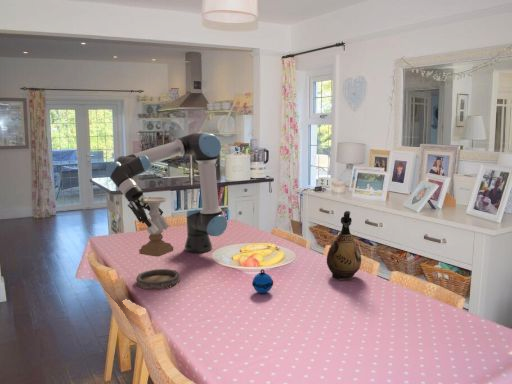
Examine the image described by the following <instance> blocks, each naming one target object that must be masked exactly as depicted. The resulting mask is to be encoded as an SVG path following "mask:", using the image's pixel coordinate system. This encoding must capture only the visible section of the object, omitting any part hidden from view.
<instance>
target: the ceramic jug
mask: <svg viewBox="0 0 512 384" xmlns="http://www.w3.org/2000/svg"><path fill="white" fill-rule="evenodd" d="M350 216H351V211H350V210H345V211H344V213H343V216H341V218H340V223H341V224H342V225H341V226H342V227H341V230H340V232H339V233H340V234H338V235H337V236H336V238H334V240H333V242H332V244H331V245H330V246H329V248H328V251H327V253H326V254H327V255H326V265H327V268H328V269H329V272H331V276H332V279H336V280H339V281H349V280H352V279H353V277H354V276H355V274H357V272H358V271H359V270H360V268H361V265H362V256H361V255H362V254H361V251H360V248H359V245H358V243H357V242H356V239H354V237H353V235H352V234H351V232H350V226H351V225H352V220H353V219H352V218H351V217H350Z"/></svg>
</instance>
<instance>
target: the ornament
mask: <svg viewBox="0 0 512 384" xmlns="http://www.w3.org/2000/svg"><path fill="white" fill-rule="evenodd" d="M265 271H266V270H265V269H261V270H260V272H259V273H257V274H256V275H255V276H254V277H253V279H252V283H251V284H252V287H253V288H254V290H255V291H256V292H258V293H260V294H265V293H266V294H267V293H268V292H269V291H271V289H272V287H273V286H274V280H273V278H272V277H271V275H269V274H268V273H266V272H265Z"/></svg>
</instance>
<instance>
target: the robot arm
mask: <svg viewBox="0 0 512 384" xmlns="http://www.w3.org/2000/svg"><path fill="white" fill-rule="evenodd" d="M221 149H222V143H221V141H220V139H219V138H218V136H217V135H215V134H213V133H207V132H205V133H202V132H201V133H200V132H199V133H198V132H197V133H196V132H194V133H190V134H187V135H184V136H181V137H178V138H175V139H174V140H173V141H171V142H168V143H165V144H161V145H158V146H155V147H152V148H148V149H145V150H142V151H141V150H140V151H138V152H134V153H132V154H128V155H125V156H124V155H121V156H117V157H116V158H115V160H114V161H113V162H111V163H109V165H108V166H107V167H106V170H105V173H106V174H107V176H108V177H109V180H111V181H112V182H113V184H115V186H116V187H117V188H118V189H119V191H120V192H121V193H122V194H123V196H124V198H125V199H126V200H127V201H128V202H129V203H128V204H127V207H128V208H129V209H130V210H131V211H132V212H133V214H134V216H135V217H136V219H137V221H138V222H139V223H142V224H143V225H144V224H145V225H146V226H147V227H149V228H150V229H151V231H152V232H153V233H154V234H155V233H156V232H157V231H158V228H157V227H156V226H155V224H154V223H153V222H152V221H151V217H149V218H148V215H147V213H146V211H145V210H147V211H148V212H150V207H149V206H148V203H143V202H142V200H143V199H145V198H147V197H146V196H145V195H144V191H143V190H142V189H141V188H140V186H138V184H137V182H136V181H135V179H133V178H135V177H137V176H139V175H141V174H143V173H146V171H148V170H150V169H151V167H152V164H156V163H160V162H163V161H166V160H168V159H172V158H175V157H185V156H194V160H195V162H196V163H197V164H198V173H199V183H200V193H201V196H200V197H201V205H202V207H200V208H199V207H198V208H191V209H188V210H187V211H186V217H185V218H186V228H187V229H186V230H187V231H186V232H187V235H186V236H187V238H186V240H185V243H184V251H185V252H188V253H194V254H197V253H198V254H199V253H206V252H209V251H211V250H212V249H213V244H212V241H211V239H210V237H220V236H221V235H223V234H224V233H225V231H226V230H227V227H228V220H227V217H225V216H224V215H223V210H222V208H221V207H220V204H219V195H218V194H219V193H218V182H217V169H216V162H217V160H218V155H219V154H220V153H221V151H222V150H221ZM148 198H152V197H151V196H149V197H148ZM158 209H159V212H160V213H161V214H160V216H159V220H160V222H161V224H162V225H163V227H164V230H165V231H167V229H169V227H170V225H169V224H168V222H167V220H166V219H165V218H164V216H163V214H164V211H163V210H162V209H161V208H160V207H159V208H158Z"/></svg>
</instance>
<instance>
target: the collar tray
mask: <svg viewBox="0 0 512 384" xmlns="http://www.w3.org/2000/svg"><path fill="white" fill-rule="evenodd" d="M180 278H181V277H180V272H178V271H177V270H175V269H169V268H158V269H157V268H156V269H150V270H146V271H144V272H141V273H138V275H137V276H136V286H137V287H139V288H140V289H143V288H144V289H143V290H149V289H157V290H163V289H162V288H165V289H168V288H167V287H169V288H171V287H170V286H172V287H174V286H173V285H175V286H177V285H178V284H179V283H180V282H181V279H180ZM179 281H180V282H179ZM178 282H179V283H178ZM177 283H178V284H177ZM176 284H177V285H176Z"/></svg>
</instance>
